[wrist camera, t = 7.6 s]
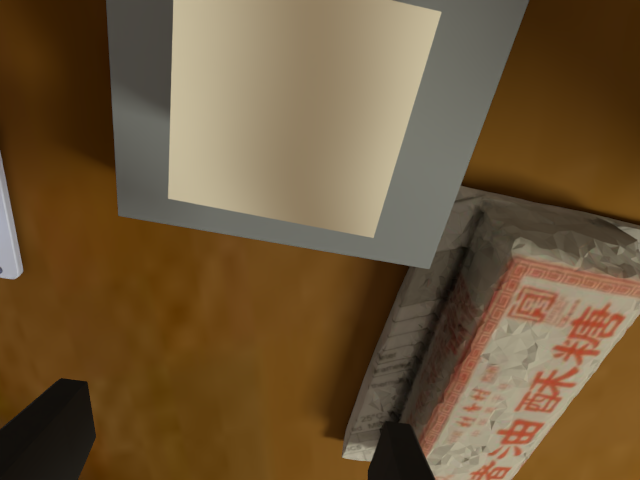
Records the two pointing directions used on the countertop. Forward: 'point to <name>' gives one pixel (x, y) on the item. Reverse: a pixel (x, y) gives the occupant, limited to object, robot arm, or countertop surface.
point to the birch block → (294, 105)
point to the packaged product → (498, 333)
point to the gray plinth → (412, 163)
